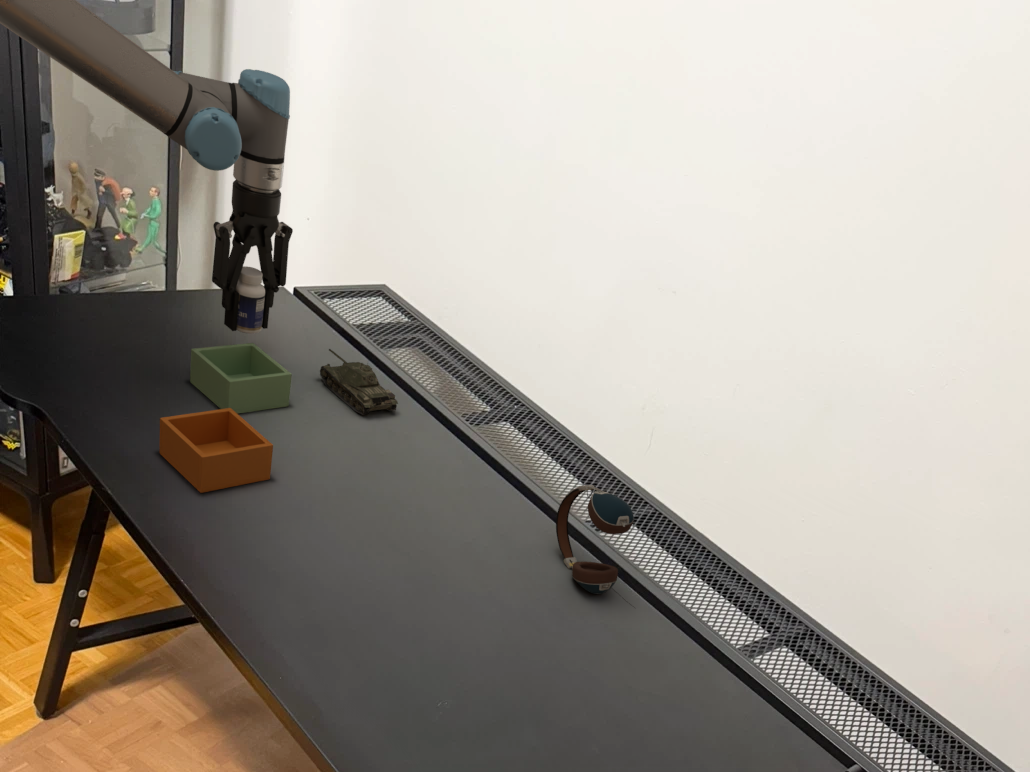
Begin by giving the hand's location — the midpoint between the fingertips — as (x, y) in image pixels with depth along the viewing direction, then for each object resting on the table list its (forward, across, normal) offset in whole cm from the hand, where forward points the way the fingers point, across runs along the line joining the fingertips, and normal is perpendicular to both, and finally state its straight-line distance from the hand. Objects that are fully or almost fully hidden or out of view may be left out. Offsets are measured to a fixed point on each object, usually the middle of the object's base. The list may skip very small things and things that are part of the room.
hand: (245, 326), depth 176 cm
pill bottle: (+1, 0, 0) cm, 1 cm away
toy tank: (+6, +12, -16) cm, 21 cm away
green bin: (+6, -8, -11) cm, 15 cm away
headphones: (+6, +11, -78) cm, 79 cm away
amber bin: (+6, -24, -30) cm, 39 cm away
